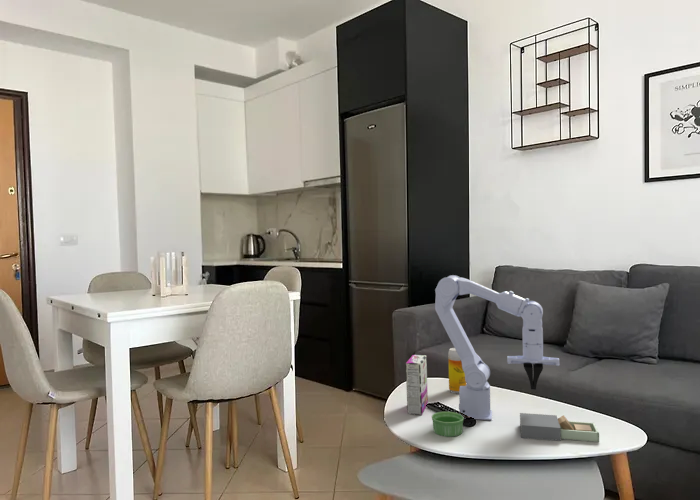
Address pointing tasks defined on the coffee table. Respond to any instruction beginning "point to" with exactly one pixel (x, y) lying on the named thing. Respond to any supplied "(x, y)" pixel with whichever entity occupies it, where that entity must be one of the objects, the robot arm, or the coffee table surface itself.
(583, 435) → the tray
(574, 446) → the coffee table surface
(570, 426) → the oak tile
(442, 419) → the ramekin
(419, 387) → the candy bar box
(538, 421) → the grey flat block
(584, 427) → the oak tile
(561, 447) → the coffee table surface
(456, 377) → the beer glass
